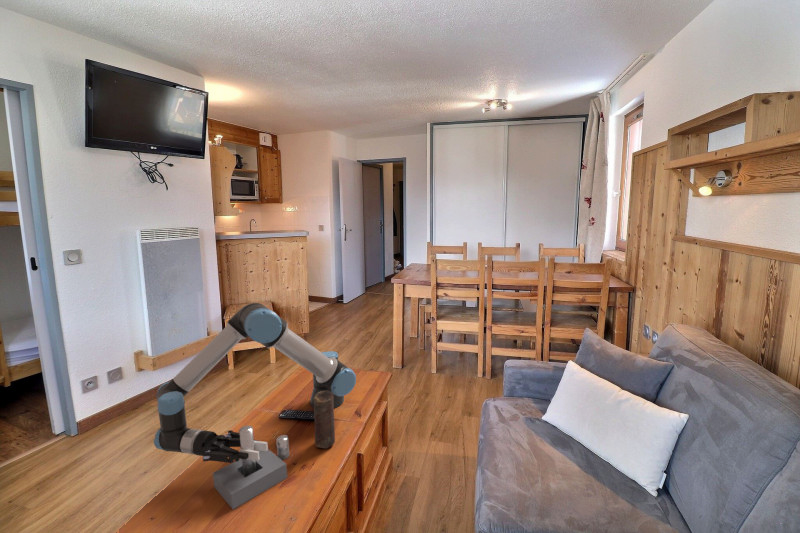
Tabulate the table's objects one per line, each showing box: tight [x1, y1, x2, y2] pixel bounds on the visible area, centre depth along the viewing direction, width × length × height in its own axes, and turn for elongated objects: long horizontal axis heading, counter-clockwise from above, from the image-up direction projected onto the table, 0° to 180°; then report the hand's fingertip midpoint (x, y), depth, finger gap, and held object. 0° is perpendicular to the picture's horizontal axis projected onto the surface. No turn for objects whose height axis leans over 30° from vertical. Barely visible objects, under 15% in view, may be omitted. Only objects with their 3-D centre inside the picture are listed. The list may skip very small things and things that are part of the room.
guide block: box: [212, 448, 288, 510], centre depth 123 cm, size 18×14×5 cm
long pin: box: [238, 425, 256, 477], centre depth 122 cm, size 4×4×17 cm
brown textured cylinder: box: [313, 391, 336, 449], centre depth 141 cm, size 8×7×20 cm
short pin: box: [275, 434, 290, 461], centre depth 136 cm, size 4×4×7 cm
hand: (262, 451), depth 121 cm, fingers closed on long pin, 4 cm apart
